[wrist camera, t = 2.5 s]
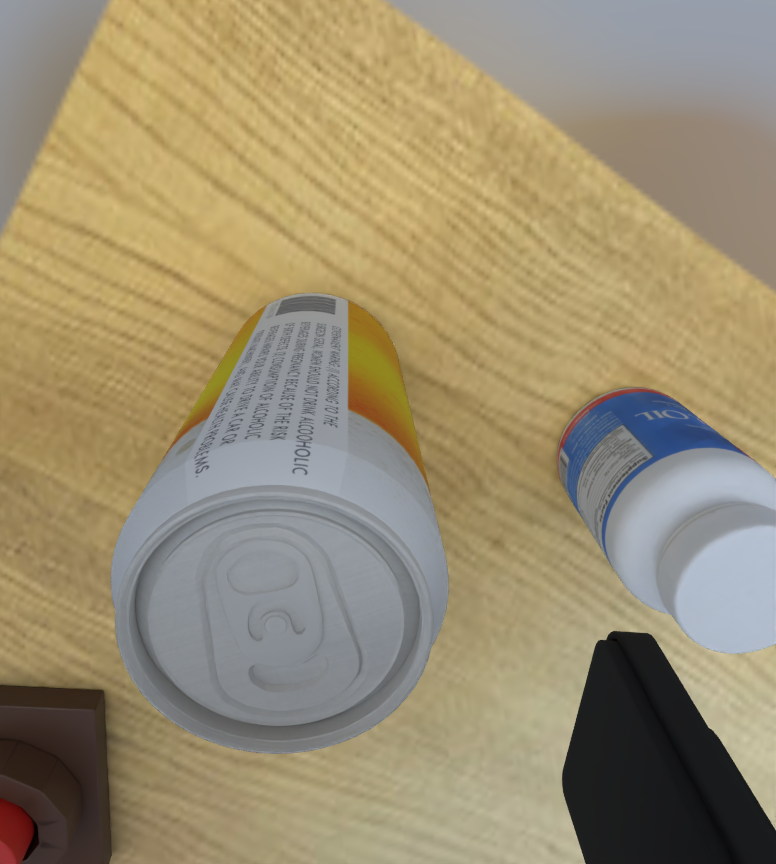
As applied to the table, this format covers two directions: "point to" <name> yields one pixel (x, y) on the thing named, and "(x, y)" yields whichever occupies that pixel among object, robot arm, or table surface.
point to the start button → (14, 832)
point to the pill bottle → (677, 515)
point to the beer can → (286, 541)
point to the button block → (57, 771)
